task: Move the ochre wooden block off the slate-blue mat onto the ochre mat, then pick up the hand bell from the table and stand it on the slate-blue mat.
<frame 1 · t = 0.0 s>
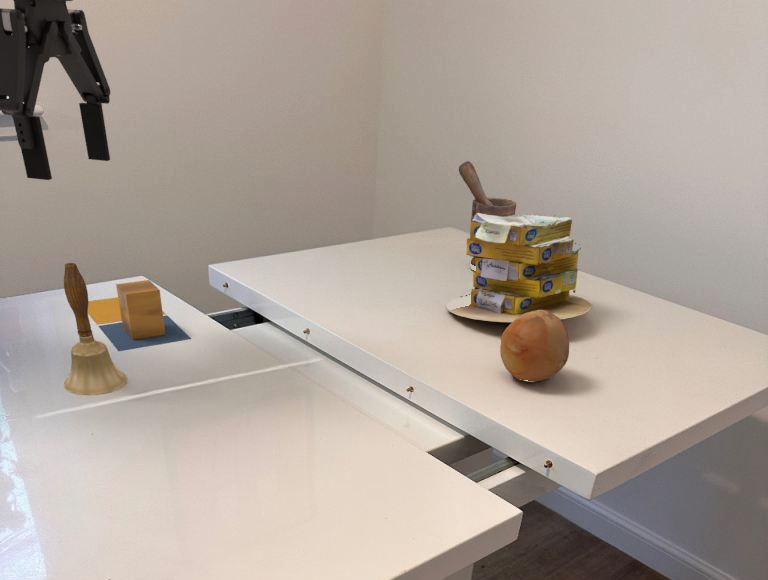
hand: (71, 168, 90), 25 cm above the table, tool pointing down, fingers open, 13 cm apart
stacked boxes on plate: (515, 316, 126), on the table
block: (144, 332, 110), resting on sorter
hand bell: (96, 386, 96), on the table
onion: (528, 379, 105), on the table
mortar and pestle: (478, 270, 148), on the table
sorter: (133, 322, 115), on the table
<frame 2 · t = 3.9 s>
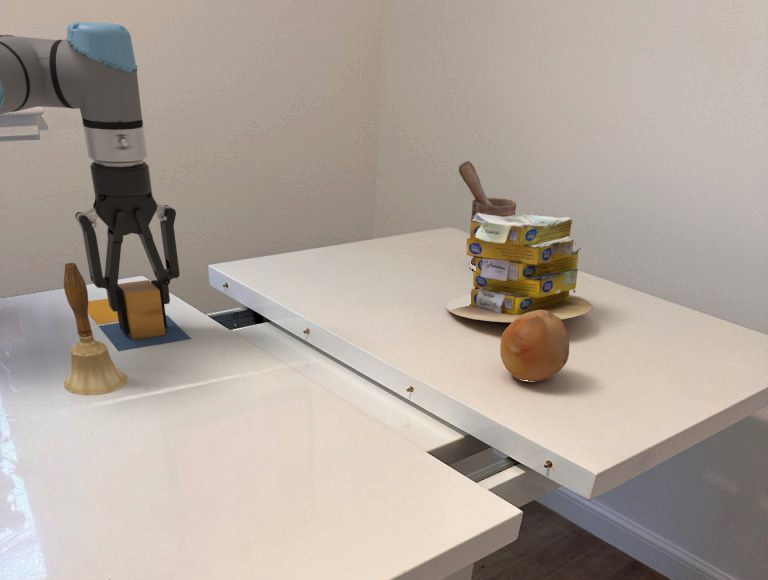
hand: (143, 327, 110), 1 cm above the table, tool pointing down, fingers closed on block, 5 cm apart
block: (144, 332, 110), resting on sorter, touching gripper
everything else where it was.
when the fingers open (1 cm above the table, at t = 9.7 s): block stays where it is, resting on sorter.
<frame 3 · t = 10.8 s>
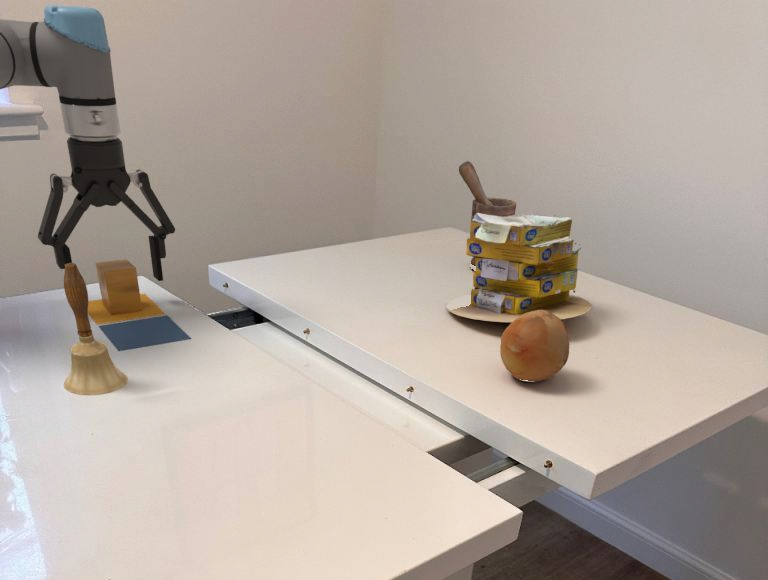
hand: (116, 283, 116), 5 cm above the table, tool pointing down, fingers open, 13 cm apart
block: (122, 308, 118), resting on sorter
everything else where it was.
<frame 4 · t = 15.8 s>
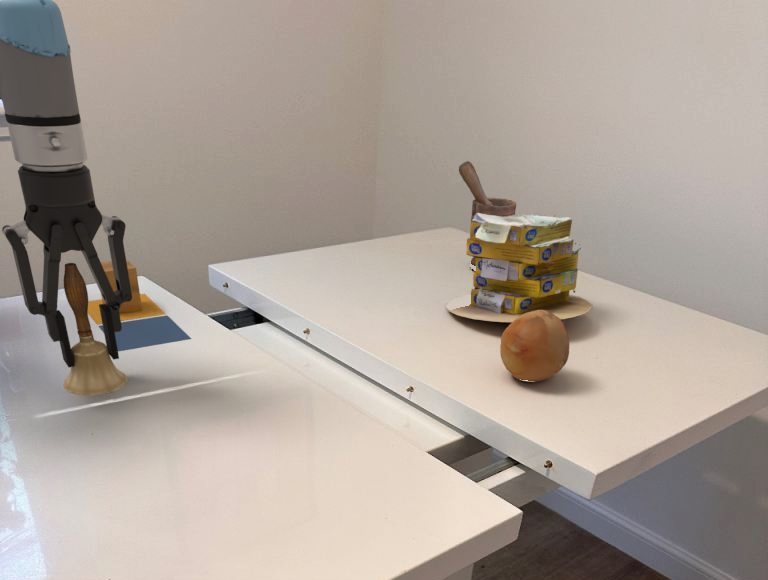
hand: (91, 358, 94), 4 cm above the table, tool pointing down, fingers closed on hand bell, 5 cm apart
hand bell: (96, 386, 96), on the table, touching gripper
everything else where it was.
when the fingers open (4 cm above the table, at t = 23.5 s): hand bell stays where it is, resting on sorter.
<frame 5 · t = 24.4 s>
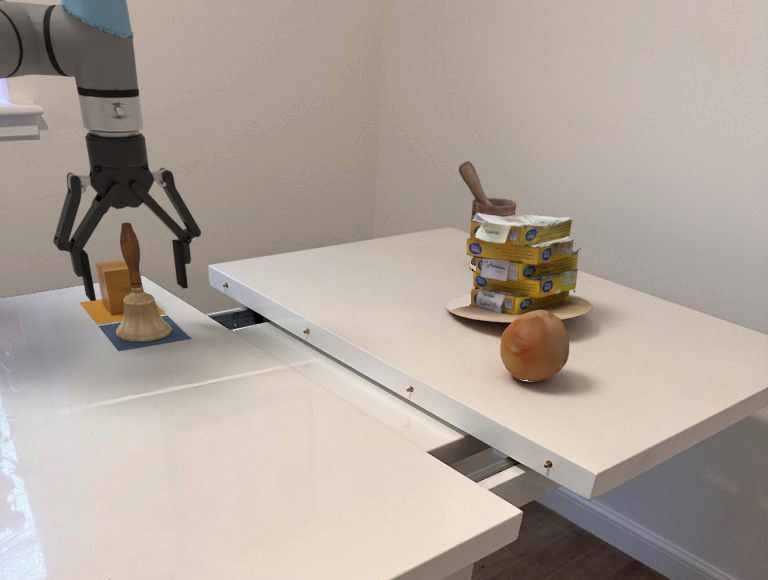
hand: (138, 291, 107), 7 cm above the table, tool pointing down, fingers open, 13 cm apart
hand bell: (144, 333, 110), resting on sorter
everything else where it was.
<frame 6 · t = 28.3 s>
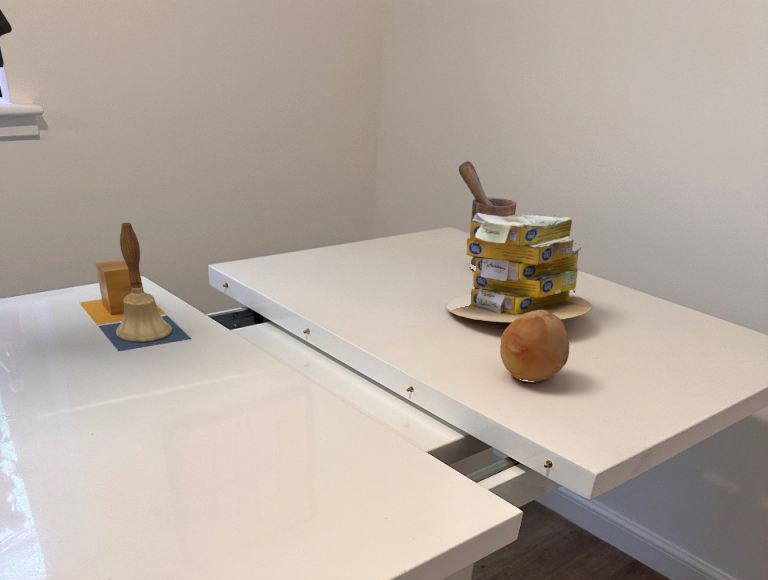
nothing on the table moved.
at the end: block inside the target area on the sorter (0.2 cm from its centre), point 0.5 cm above the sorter's base; hand bell inside the target area on the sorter (0.2 cm from its centre), point 0.3 cm above the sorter's base; hand bell tilted 0° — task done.
